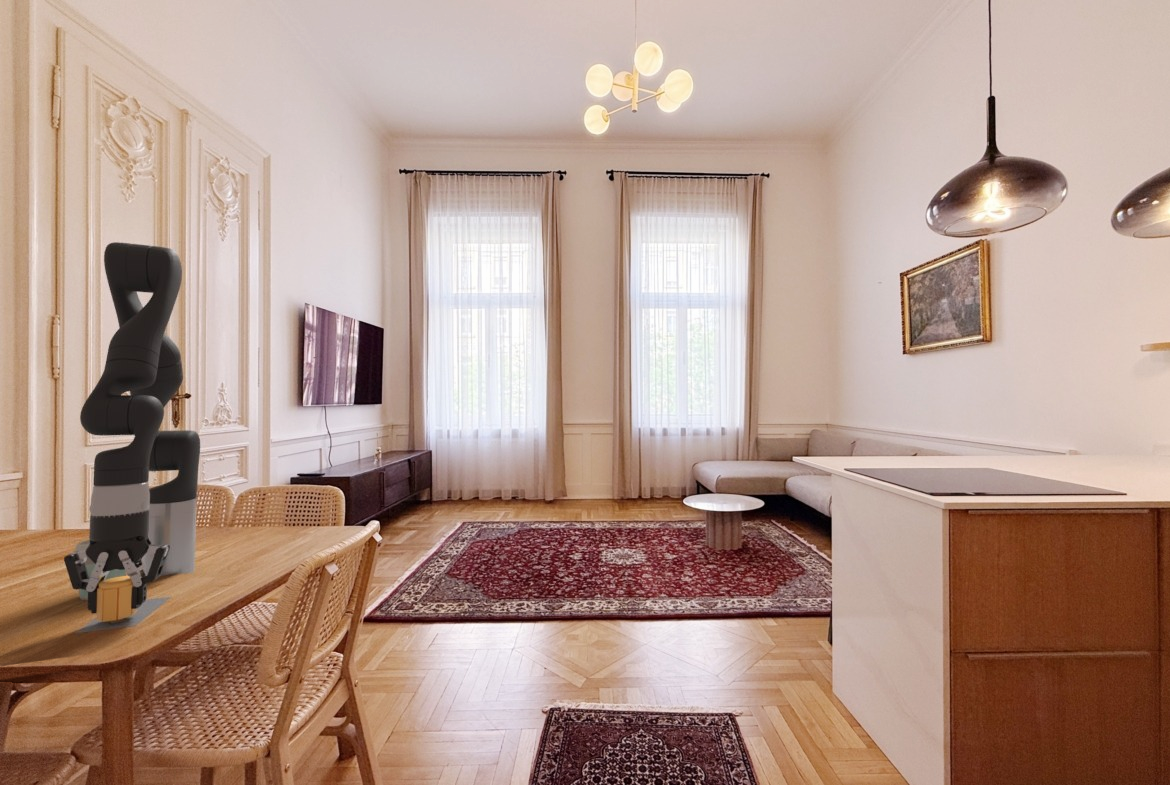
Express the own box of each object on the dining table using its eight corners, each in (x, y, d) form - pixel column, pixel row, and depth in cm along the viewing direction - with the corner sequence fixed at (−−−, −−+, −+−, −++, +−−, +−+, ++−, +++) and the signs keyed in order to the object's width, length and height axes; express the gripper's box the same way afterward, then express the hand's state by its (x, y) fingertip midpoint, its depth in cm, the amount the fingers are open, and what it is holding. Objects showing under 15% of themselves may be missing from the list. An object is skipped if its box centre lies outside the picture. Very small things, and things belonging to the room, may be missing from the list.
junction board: (118, 610, 93) (119, 583, 93) (170, 604, 96) (171, 578, 96) (73, 642, 80) (74, 611, 80) (135, 634, 83) (136, 604, 83)
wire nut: (106, 612, 86) (107, 577, 87) (141, 608, 88) (142, 574, 88) (91, 623, 82) (92, 586, 82) (127, 618, 84) (128, 582, 84)
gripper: (180, 503, 92) (177, 596, 91) (79, 508, 87) (76, 607, 86) (162, 510, 85) (159, 611, 84) (52, 517, 80) (47, 624, 79)
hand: (117, 609), depth 85 cm, fingers closed on wire nut, 4 cm apart
